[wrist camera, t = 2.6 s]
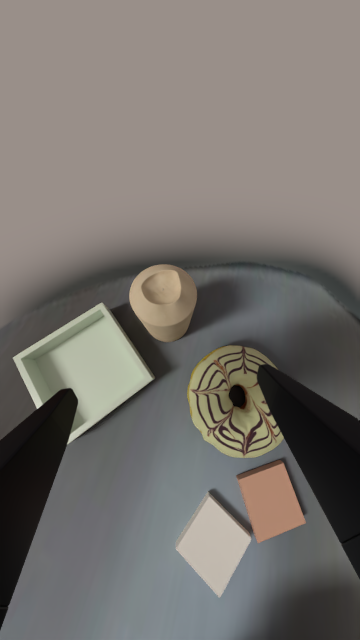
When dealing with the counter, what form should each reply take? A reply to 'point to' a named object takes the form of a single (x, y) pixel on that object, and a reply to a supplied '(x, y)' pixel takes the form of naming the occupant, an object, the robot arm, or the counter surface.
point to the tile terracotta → (270, 500)
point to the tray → (85, 367)
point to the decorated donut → (218, 411)
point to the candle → (164, 301)
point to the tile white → (213, 543)
